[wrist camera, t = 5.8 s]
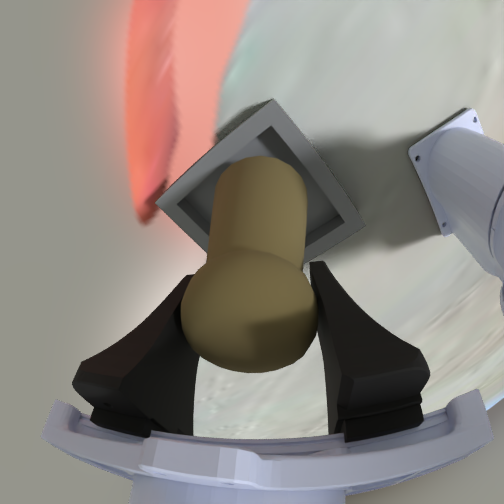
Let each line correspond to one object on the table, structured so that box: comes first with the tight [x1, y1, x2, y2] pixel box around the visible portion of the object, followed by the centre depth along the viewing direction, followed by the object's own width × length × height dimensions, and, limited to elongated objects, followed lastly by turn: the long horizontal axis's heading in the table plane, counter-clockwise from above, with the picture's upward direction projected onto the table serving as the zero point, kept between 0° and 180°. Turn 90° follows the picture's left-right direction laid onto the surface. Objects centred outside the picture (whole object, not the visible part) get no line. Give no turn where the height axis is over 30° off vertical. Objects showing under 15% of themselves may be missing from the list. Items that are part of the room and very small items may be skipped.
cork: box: [181, 156, 319, 373], centre depth 13 cm, size 6×6×11 cm
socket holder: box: [155, 98, 366, 264], centre depth 20 cm, size 11×11×2 cm
